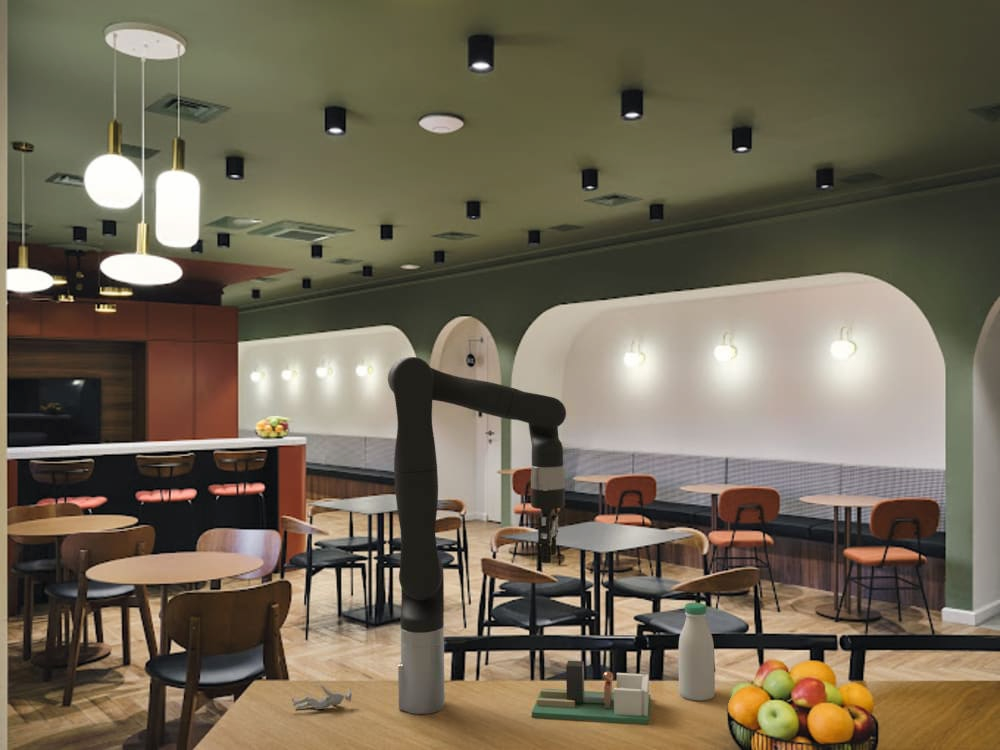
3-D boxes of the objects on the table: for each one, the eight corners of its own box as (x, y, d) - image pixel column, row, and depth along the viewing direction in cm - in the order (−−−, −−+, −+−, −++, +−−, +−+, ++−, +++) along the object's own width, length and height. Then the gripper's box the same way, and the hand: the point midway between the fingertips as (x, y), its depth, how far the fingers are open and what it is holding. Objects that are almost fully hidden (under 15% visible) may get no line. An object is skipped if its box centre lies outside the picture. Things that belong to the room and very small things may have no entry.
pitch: (531, 717, 181) (531, 706, 181) (541, 692, 195) (541, 683, 195) (648, 724, 177) (648, 713, 177) (650, 699, 191) (650, 689, 191)
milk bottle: (715, 702, 188) (714, 610, 188) (679, 700, 190) (677, 608, 190) (714, 690, 196) (712, 600, 196) (679, 688, 197) (677, 599, 197)
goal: (614, 714, 180) (613, 689, 180) (617, 695, 190) (616, 672, 190) (647, 716, 179) (647, 691, 179) (648, 697, 189) (648, 674, 189)
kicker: (566, 705, 184) (565, 667, 184) (569, 695, 190) (568, 658, 190) (612, 708, 182) (612, 670, 182) (614, 697, 188) (614, 660, 188)
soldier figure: (297, 708, 191) (350, 686, 194) (303, 728, 188) (356, 706, 190) (288, 693, 185) (343, 671, 188) (294, 714, 182) (349, 691, 185)
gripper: (535, 482, 202) (536, 551, 202) (525, 490, 189) (526, 565, 189) (568, 482, 201) (569, 552, 201) (560, 490, 187) (561, 566, 187)
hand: (548, 558), depth 195 cm, fingers open, 8 cm apart
